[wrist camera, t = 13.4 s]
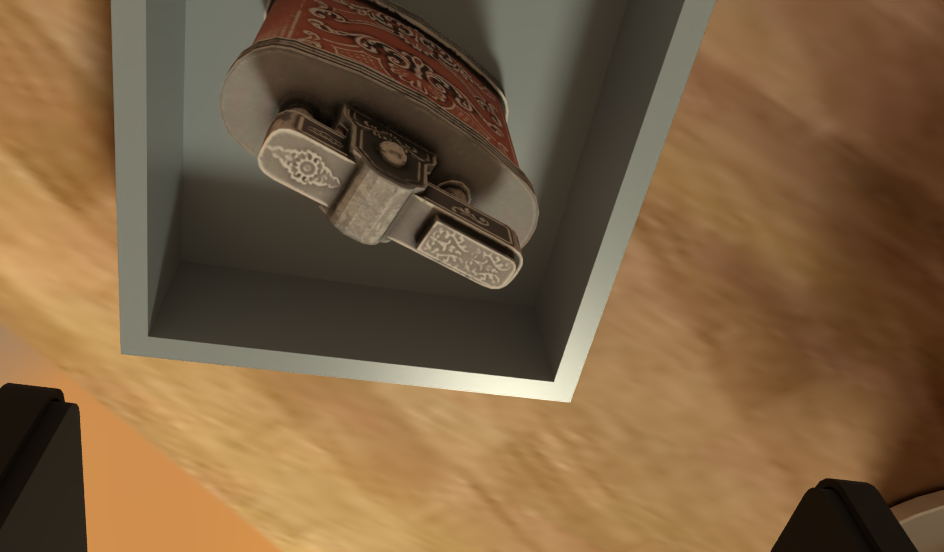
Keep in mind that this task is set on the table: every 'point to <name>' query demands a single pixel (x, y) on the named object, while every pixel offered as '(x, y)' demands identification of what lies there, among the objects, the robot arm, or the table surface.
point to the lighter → (385, 132)
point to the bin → (391, 264)
